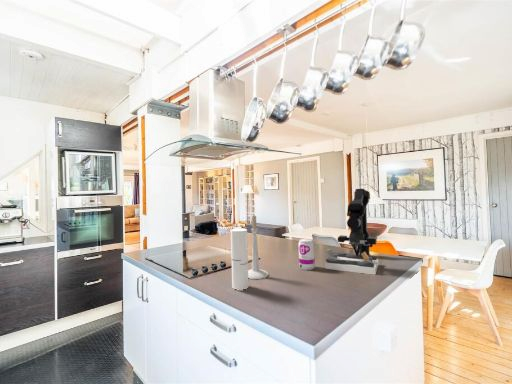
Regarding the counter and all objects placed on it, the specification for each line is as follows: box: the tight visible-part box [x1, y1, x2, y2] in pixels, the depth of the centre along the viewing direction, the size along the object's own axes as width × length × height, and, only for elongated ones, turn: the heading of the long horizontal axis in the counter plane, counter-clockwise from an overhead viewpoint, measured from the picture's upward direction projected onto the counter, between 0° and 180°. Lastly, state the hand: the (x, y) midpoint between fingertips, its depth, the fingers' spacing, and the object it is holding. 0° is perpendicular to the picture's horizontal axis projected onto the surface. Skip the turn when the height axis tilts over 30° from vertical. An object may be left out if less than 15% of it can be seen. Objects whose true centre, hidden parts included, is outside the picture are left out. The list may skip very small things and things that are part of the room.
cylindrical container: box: [230, 228, 249, 291], centre depth 113 cm, size 7×7×25 cm
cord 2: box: [333, 252, 378, 260], centre depth 145 cm, size 3×24×2 cm, turn 60°
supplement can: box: [298, 238, 316, 271], centre depth 138 cm, size 8×8×15 cm
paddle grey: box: [326, 248, 335, 257], centre depth 144 cm, size 4×2×5 cm, turn 150°
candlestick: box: [248, 215, 270, 280], centre depth 129 cm, size 13×13×30 cm
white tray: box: [324, 254, 379, 275], centre depth 138 cm, size 18×24×5 cm
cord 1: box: [325, 258, 374, 267], centre depth 132 cm, size 3×24×2 cm, turn 61°
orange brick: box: [361, 252, 370, 260], centre depth 135 cm, size 4×2×5 cm, turn 151°
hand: (357, 256), depth 137 cm, fingers closed
